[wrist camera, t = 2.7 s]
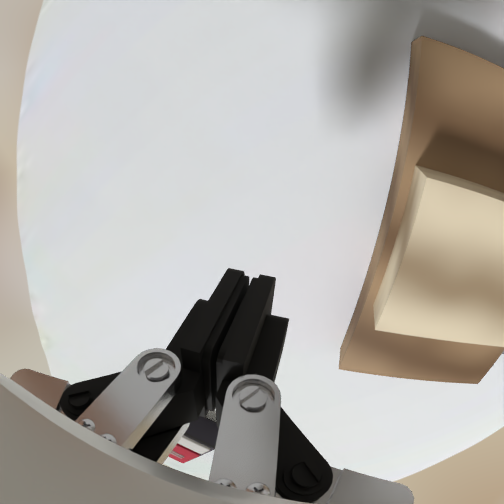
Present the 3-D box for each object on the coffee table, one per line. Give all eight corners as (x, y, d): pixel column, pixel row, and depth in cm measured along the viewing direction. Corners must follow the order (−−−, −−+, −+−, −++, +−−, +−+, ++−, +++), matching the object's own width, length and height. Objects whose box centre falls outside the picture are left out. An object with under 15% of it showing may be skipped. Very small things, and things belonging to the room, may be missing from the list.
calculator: (122, 433, 38) (127, 409, 29) (133, 412, 41) (144, 381, 32) (184, 466, 38) (213, 454, 29) (194, 444, 41) (225, 425, 32)
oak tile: (415, 164, 12) (426, 177, 10) (558, 216, 10) (576, 232, 8) (373, 305, 16) (374, 330, 14) (504, 326, 14) (514, 347, 12)
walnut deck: (411, 42, 10) (421, 35, 9) (574, 120, 8) (593, 127, 6) (340, 348, 21) (338, 369, 19) (473, 365, 19) (477, 383, 17)
